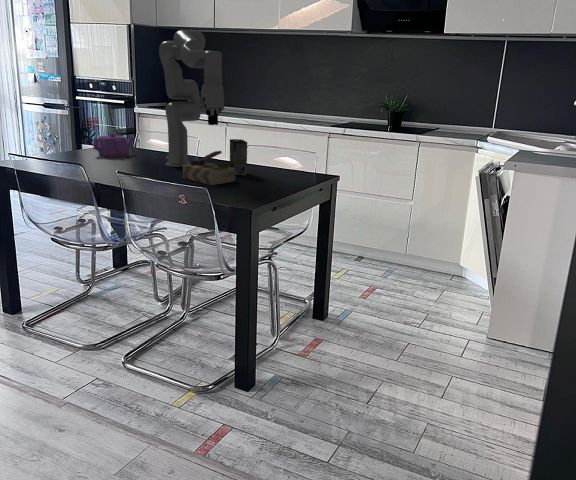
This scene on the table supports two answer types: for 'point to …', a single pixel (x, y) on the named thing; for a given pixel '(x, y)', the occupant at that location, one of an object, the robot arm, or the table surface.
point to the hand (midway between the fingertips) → (213, 124)
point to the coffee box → (238, 156)
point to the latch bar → (208, 157)
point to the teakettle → (112, 146)
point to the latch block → (209, 173)
